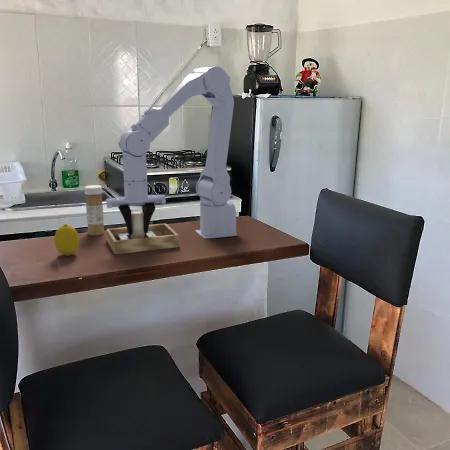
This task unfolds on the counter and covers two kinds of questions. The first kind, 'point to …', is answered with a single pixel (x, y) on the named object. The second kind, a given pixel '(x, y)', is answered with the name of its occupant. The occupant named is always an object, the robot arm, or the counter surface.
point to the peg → (137, 225)
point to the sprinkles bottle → (94, 209)
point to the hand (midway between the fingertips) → (137, 232)
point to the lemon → (66, 240)
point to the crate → (143, 240)
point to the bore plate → (126, 236)
